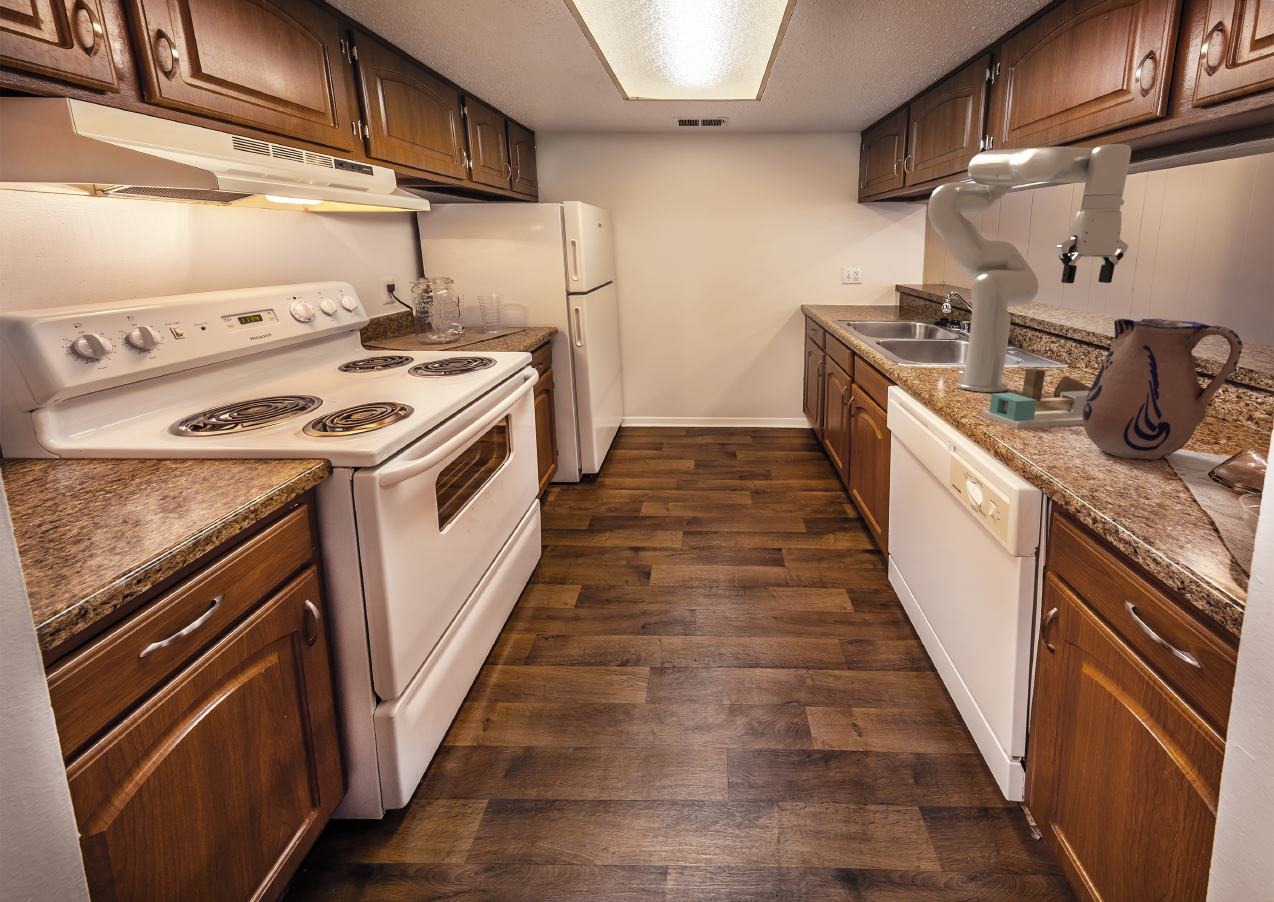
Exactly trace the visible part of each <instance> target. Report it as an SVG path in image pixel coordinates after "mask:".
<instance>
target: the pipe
mask: <svg viewBox="0 0 1274 902" xmlns="http://www.w3.org/2000/svg"><path fill="white" fill-rule="evenodd" d="M1090 389H1091V387H1090V386H1088V385H1087V384H1085V383H1082V382H1081V381H1079V380H1077V379H1074V378H1071V377H1070V376H1066V375H1065V376H1063V377H1062V378H1061V379H1060V380H1059V382H1058V383H1057V385H1056V387H1055V389H1054V392H1053V398H1059V397H1060V394H1061V392H1073V391H1090Z"/></svg>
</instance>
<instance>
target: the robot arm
mask: <svg viewBox="0 0 1274 902" xmlns="http://www.w3.org/2000/svg"><path fill="white" fill-rule="evenodd" d="M1131 155H1132V148H1131V146H1130V145H1129V144H1126V143H1125V144H1123V143H1116V144H1115V143H1113V144H1103V145H1098V146H1096V147H1094V148H1091V147H1081V146H1080V147H1079V146H1046V147H1044V146H1043V147H1028V148H1027V147H1025V148H1022V147H1021V148H1008V149H1005V148H1004V149H990V150H985V151H982V152H980V153H978V154H976V155H975V156H974V157H972V159H971V160H970V162H969V163H968V167H967V173H968V176H969V178H970V180H971V181H973V182H959V181H958V182H956V181H954V182H948V183H944V184H941V185H939V186H938V187H937V188H935V189H934V190H933V191H932V193H931V195H930V197H929V201H928V208H927V211H928V213H927V214H928V219H929V223H930V225H931V226H932V229H933V231H934V232H935V233H936V235H937V236H938V237H939V238H940V239H941V240H942V242H943V243H944V245H945V247H946V248H947V249H948V251H949V254H950V255H951V256H952V258H953V259H954V261H955V262H956V264H957V265H958V266H959V269H960V270H961V271H962V273H964V274H965V275H966V276H969V277H975V279H974V280H973V283H972V285H971V288H970V289H971V290H970V291H971V292H970V297H971V320H970V329H969V337H968V344H967V345H968V346H967V352H966V361H965V365H964V366H965V368H964V369H963V370H959V371H958V372H957V373H958V375H959V376H961V377H962V378H961V380H958V381H957V383H956V386H957V387H958V388H959V389H963V390H965V389H966V391H972V392H979V393H980V392H981V393H1003V392H1005V391H1007V390H1008V388H1009V387H1008V384H1007V383H1003V376H1004V370H1005V364H1006V359H1007V358H1006V356H1007V351H1008V344H1009V338H1010V337H1009V336H1010V329H1011V317H1010V314H1009V310H1008V307H1017V306H1019V307H1020V306H1024V305H1027V304H1029V303H1030V302H1032V301H1034V299H1035V298H1036V296H1037V294H1038V292H1039V281H1038V278H1037V276H1036V273H1035V272H1034V271H1033V270H1032V268H1031V266H1030V265H1029V263H1028V262H1027V261H1026V259H1025V258H1024V257H1023V254H1022V253H1021V252H1020V251H1019V250H1018V248H1017V247H1016V246H1015V245H1013V244H1012V243H1011V242H1009V241H1005V240H990V239H986V238H985V237H984V236H983V235H982V234H981V232H979V230H978V229H977V227H976V226H975V224H974V223H972V222H971V221H970V220H968V219H967V218H966V217H965V216H977V215H979V216H980V215H982V214H984V213H986V212H987V211H989V210H991V209H992V208H993V207H994V206H995V205H996V204H997V203H998V202H999V201H1000V200H1001V199H1002V198H1003V197H1004V196H1005V195H1006V194H1008V192H1010V191H1011V190H1012V189H1013V188H1014V187H1015V186H1024V185H1027V184H1028V183H1069V184H1084V188H1083V194H1082V201H1081V205H1080V210H1077V211H1076V212H1075V215H1074V217H1073V220H1072V223H1071V225H1070V229H1069V232H1068V237H1067V239H1066V240H1065V241H1063V242H1061V243H1059V244H1058V245H1057V246H1056V248H1057V253H1058V258H1059V260H1060V261H1061V265H1062V266H1063V270H1062V275H1061V283H1062V284H1074V283H1075V279H1076V274H1077V269H1078V267H1077V266H1078V265H1076V264H1077V262H1078V261H1079V260H1080V259H1081V257H1082V258H1083V257H1085V258H1087V257H1091V258H1092V257H1093V258H1094V257H1095V258H1096V257H1100V258H1101V259H1102V261H1103V263H1104V264H1101V266H1100V270H1099V276H1098V280H1097V281H1098V283H1101V284H1103V283H1105V284H1111V283H1112V280H1113V275H1114V271H1115V266H1117V265H1118V264H1119V261H1121V259H1123V257H1124V254H1125V253H1126V251H1128V250H1127V249H1128V248H1129V244H1127V243H1126V242H1124V241H1123V240H1121V239H1120V238H1121V231H1122V211H1121V206H1123V205H1124V203H1125V200H1124V199H1123V195H1124V191H1125V186H1126V181H1127V175H1128V171H1129V166H1130V161H1131Z"/></svg>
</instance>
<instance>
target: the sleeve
mask: <svg viewBox="0 0 1274 902" xmlns="http://www.w3.org/2000/svg"><path fill="white" fill-rule="evenodd" d="M1088 393H1089V391H1073V392H1061V394H1060V397H1071V398H1073V403H1072V408H1071V410H1058V411H1060V412H1064V413H1067V414H1070V415H1083V409H1084V405H1085V402H1086V399H1087V396H1088Z"/></svg>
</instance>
